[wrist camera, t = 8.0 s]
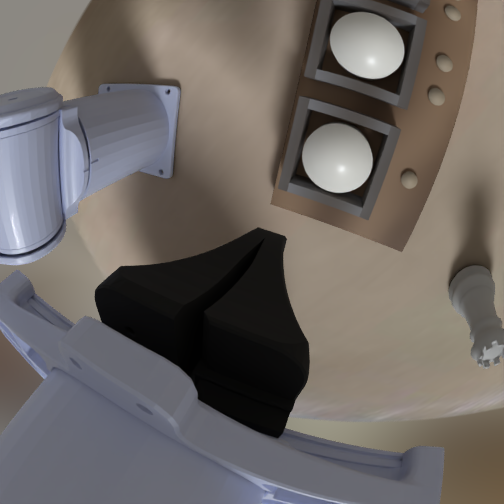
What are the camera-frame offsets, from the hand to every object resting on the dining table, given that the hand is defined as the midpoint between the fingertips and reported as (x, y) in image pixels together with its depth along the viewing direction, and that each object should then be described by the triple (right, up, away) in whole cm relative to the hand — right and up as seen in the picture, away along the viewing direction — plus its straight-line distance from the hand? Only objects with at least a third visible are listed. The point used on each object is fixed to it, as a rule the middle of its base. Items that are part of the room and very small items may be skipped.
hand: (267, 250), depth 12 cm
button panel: (+8, +12, +1) cm, 14 cm away
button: (+5, +6, +4) cm, 9 cm away
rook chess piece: (+18, -3, +6) cm, 19 cm away
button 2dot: (+6, +12, 0) cm, 13 cm away
